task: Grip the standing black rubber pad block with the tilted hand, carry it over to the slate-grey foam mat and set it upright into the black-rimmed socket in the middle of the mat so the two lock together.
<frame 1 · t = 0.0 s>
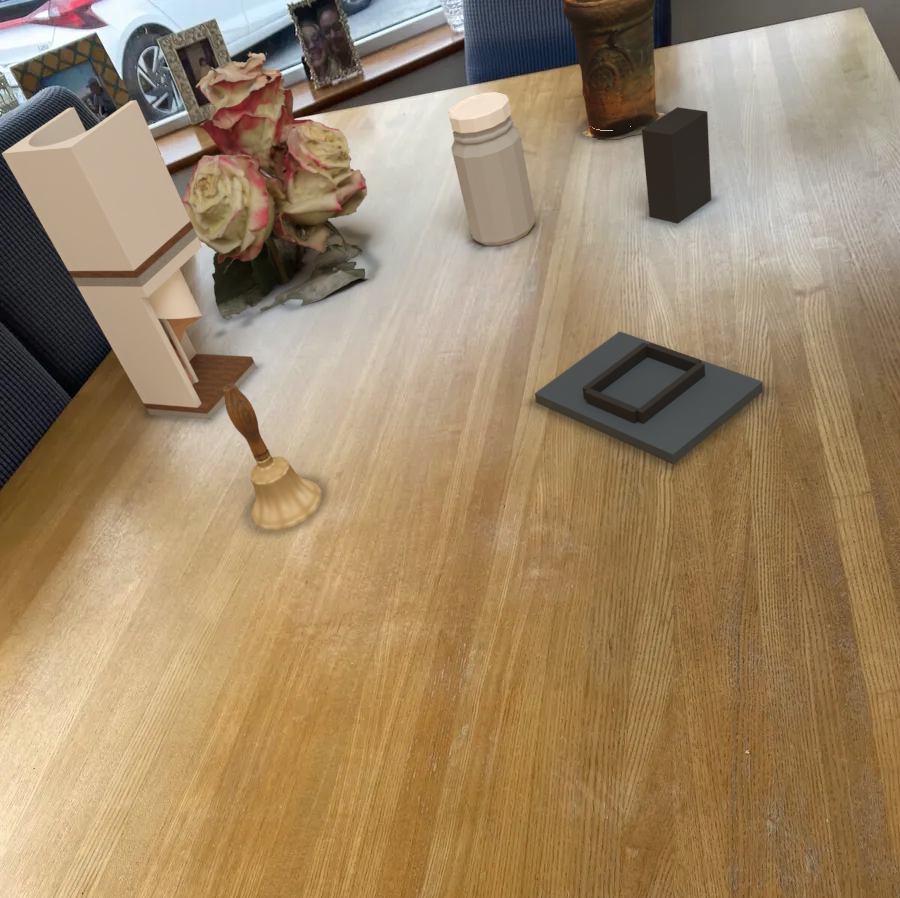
rose bouquet: (307, 272, 145), on the table
coffee grinder: (204, 393, 127), on the table
jar: (504, 233, 138), on the table
pad block: (680, 210, 130), on the table
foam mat: (645, 398, 103), on the table
vessel: (624, 123, 155), on the table
hand bell: (288, 507, 105), on the table
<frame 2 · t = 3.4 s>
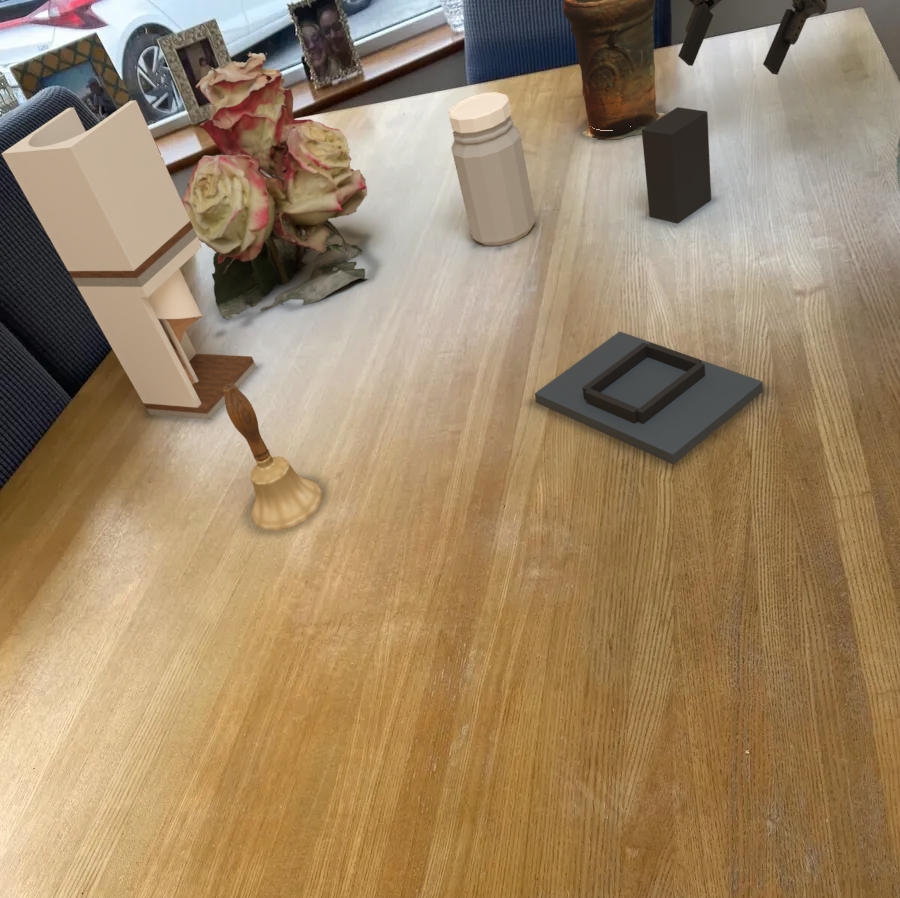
hand: (726, 65, 123), 15 cm above the table, tool tilted 45°, fingers open, 13 cm apart
nothing on the table moved.
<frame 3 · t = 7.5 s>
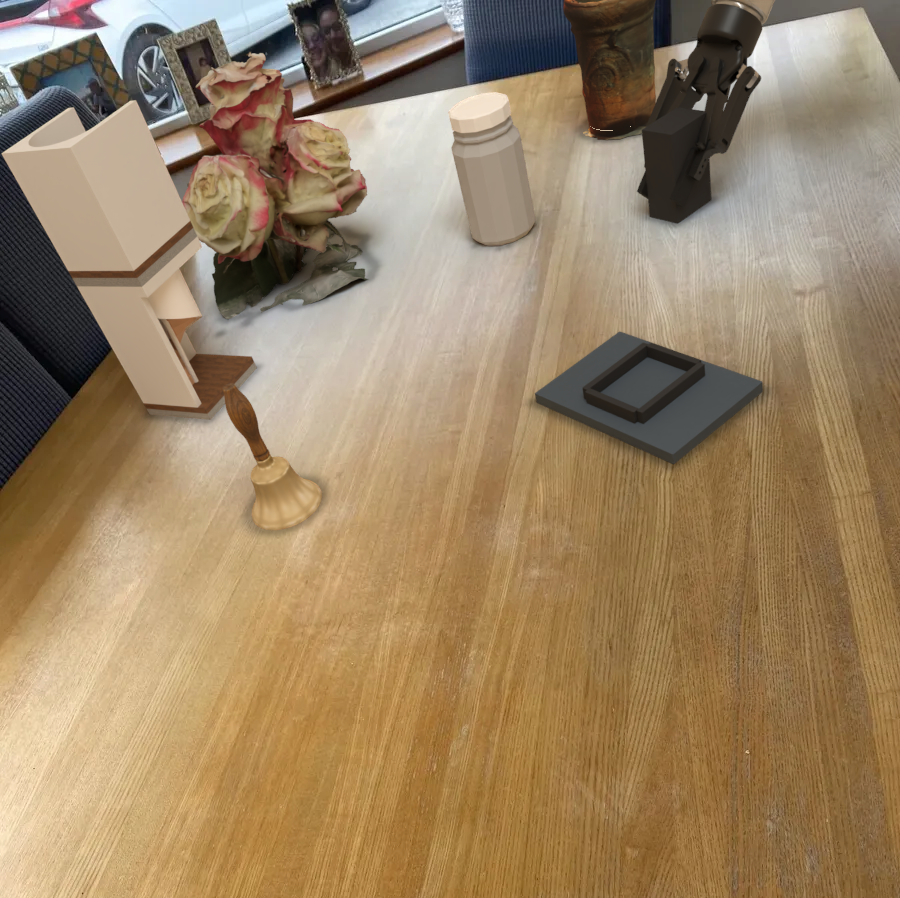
hand: (660, 199, 126), 3 cm above the table, tool tilted 45°, fingers closed on pad block, 5 cm apart
pad block: (680, 210, 130), on the table, touching gripper
everything else where it was.
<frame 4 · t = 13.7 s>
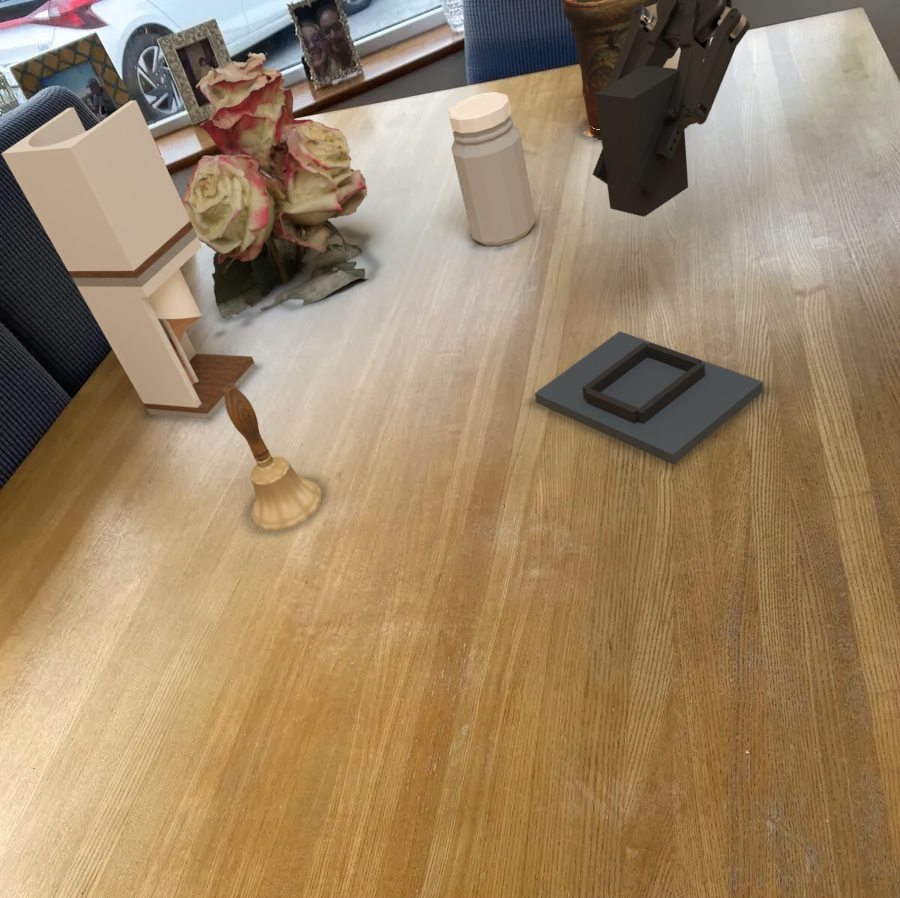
hand: (622, 183, 99), 18 cm above the table, tool tilted 45°, fingers closed on pad block, 5 cm apart
pad block: (649, 198, 102), point 15 cm above the table, touching gripper
everything else where it was.
when the fingers open (5 cm above the table, at t = 19.7 s): pad block stays where it is, resting on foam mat.
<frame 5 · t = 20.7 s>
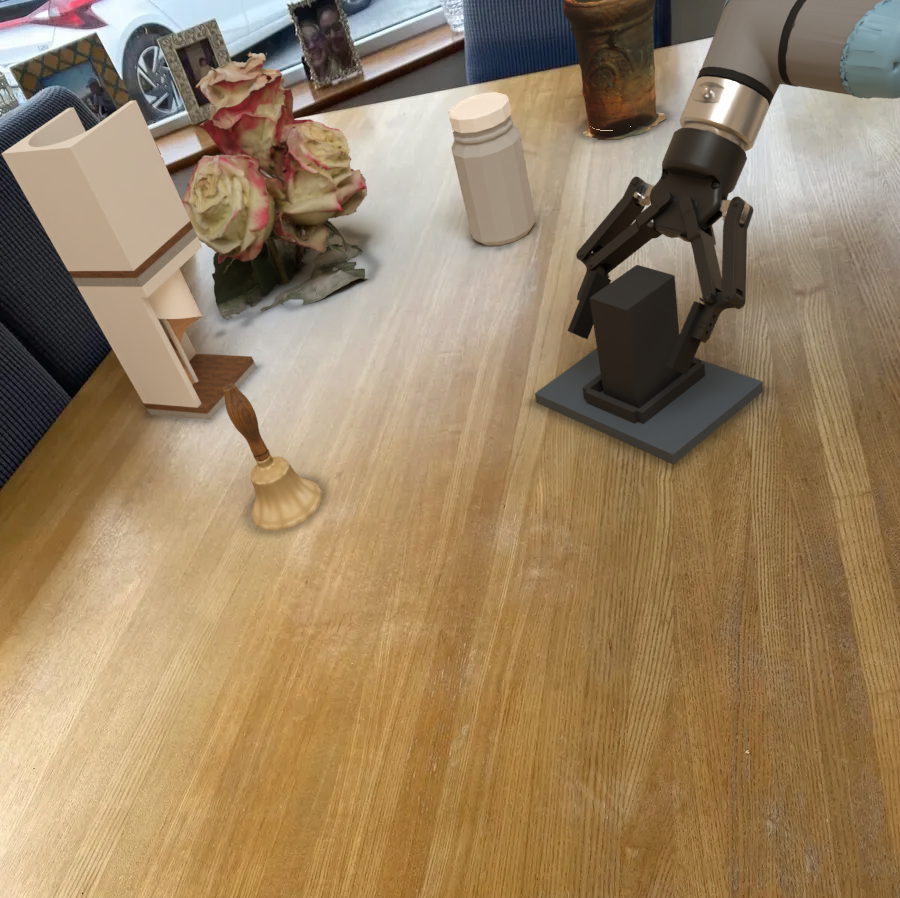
hand: (624, 352, 97), 7 cm above the table, tool tilted 45°, fingers open, 13 cm apart
pad block: (643, 387, 102), point 1 cm above the table, touching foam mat
everything else where it was.
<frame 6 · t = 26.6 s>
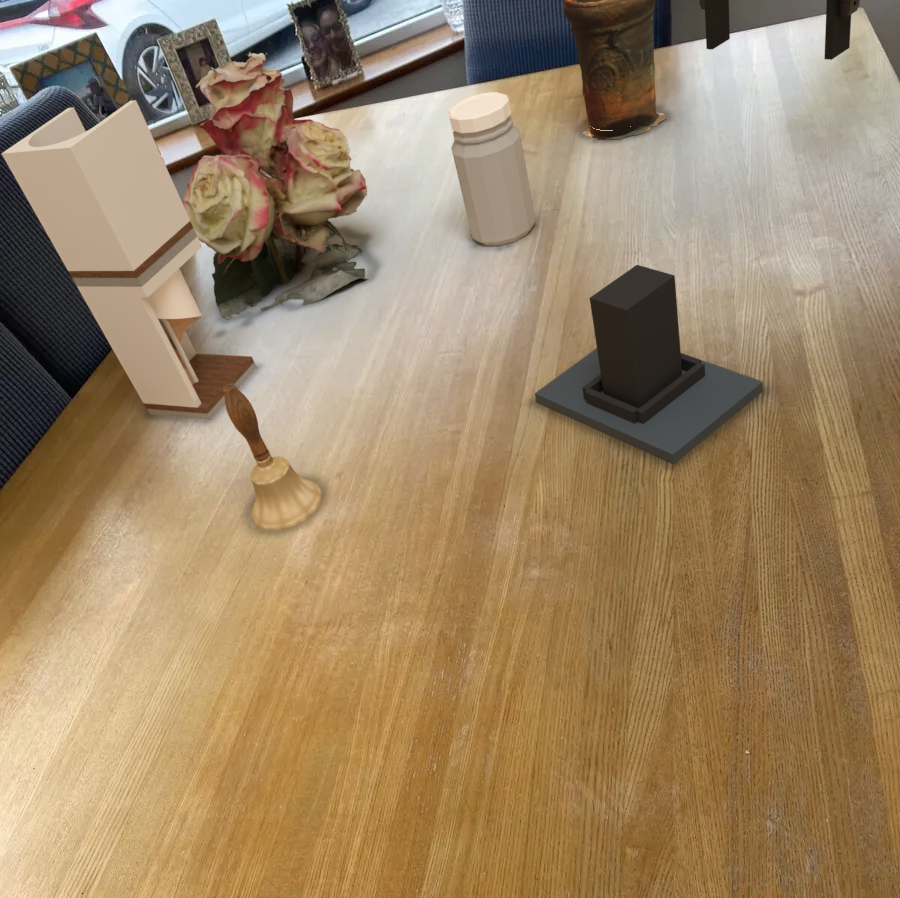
hand: (774, 49, 92), 27 cm above the table, tool pointing down, fingers open, 13 cm apart
nothing on the table moved.
at the end: pad block 0.1 cm off-centre on the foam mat, point 1.5 cm above the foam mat's base; pad block tilted 0°; pad block touching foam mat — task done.
